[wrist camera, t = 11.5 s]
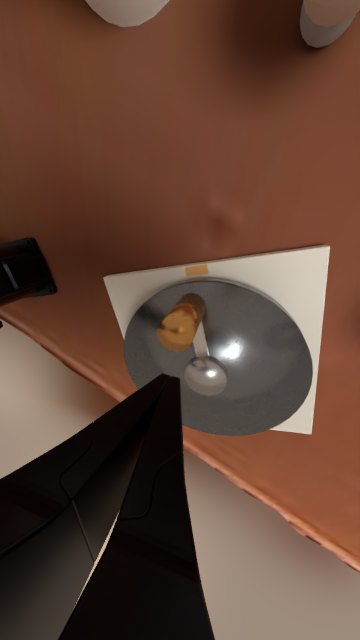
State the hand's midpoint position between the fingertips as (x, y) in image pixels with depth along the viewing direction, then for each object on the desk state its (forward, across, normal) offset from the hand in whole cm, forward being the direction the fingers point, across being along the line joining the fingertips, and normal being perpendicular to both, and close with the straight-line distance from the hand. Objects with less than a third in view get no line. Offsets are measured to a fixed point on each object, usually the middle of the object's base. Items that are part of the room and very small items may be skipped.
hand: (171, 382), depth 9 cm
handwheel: (+11, -1, +7) cm, 13 cm away
